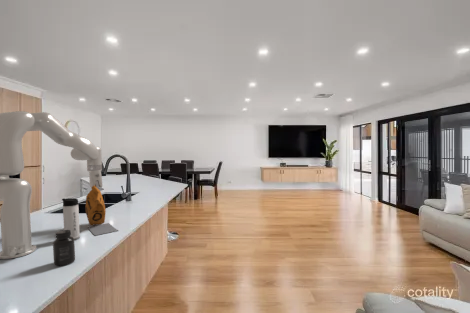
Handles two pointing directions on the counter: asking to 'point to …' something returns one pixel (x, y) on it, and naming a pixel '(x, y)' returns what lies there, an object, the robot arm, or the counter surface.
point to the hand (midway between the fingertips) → (96, 199)
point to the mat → (102, 229)
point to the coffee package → (95, 207)
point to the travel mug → (71, 216)
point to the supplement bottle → (63, 248)
